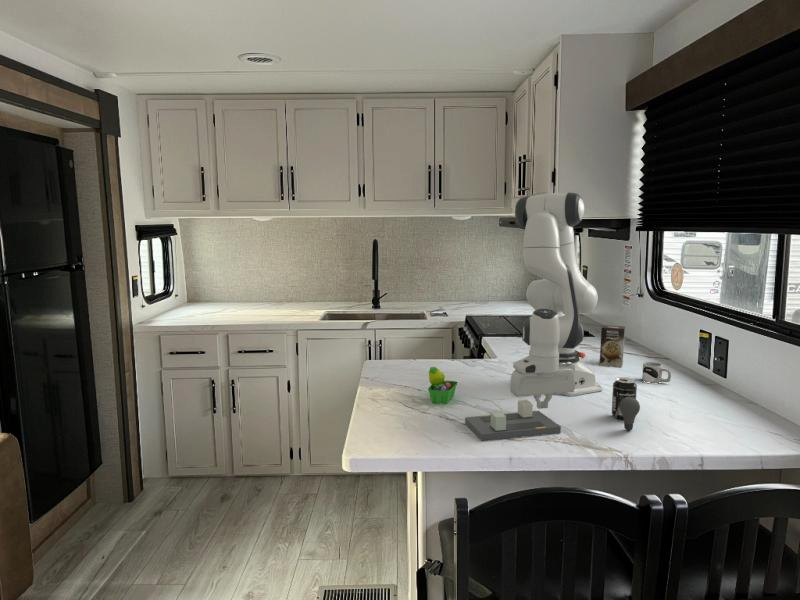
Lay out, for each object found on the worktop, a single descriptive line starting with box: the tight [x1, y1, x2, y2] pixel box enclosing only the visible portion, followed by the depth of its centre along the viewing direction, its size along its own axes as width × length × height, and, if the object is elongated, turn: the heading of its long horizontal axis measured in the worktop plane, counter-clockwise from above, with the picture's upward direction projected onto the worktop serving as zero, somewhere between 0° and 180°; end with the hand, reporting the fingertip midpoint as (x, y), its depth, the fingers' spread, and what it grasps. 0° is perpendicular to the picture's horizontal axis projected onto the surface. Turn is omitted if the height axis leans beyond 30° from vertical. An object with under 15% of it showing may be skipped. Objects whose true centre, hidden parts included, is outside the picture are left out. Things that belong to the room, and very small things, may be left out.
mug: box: [642, 361, 672, 383], centre depth 219 cm, size 10×7×7 cm
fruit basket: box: [427, 366, 458, 405], centre depth 201 cm, size 11×9×11 cm
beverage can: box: [611, 376, 638, 421], centre depth 182 cm, size 7×7×12 cm
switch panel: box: [464, 410, 562, 442], centre depth 174 cm, size 24×14×2 cm, turn 103°
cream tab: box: [516, 399, 534, 418], centre depth 179 cm, size 3×4×4 cm
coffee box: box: [598, 324, 626, 368], centre depth 243 cm, size 9×6×16 cm
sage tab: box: [490, 411, 506, 431], centre depth 169 cm, size 3×4×4 cm
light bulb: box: [619, 397, 641, 432], centre depth 171 cm, size 6×6×10 cm
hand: (542, 407), depth 180 cm, fingers closed
